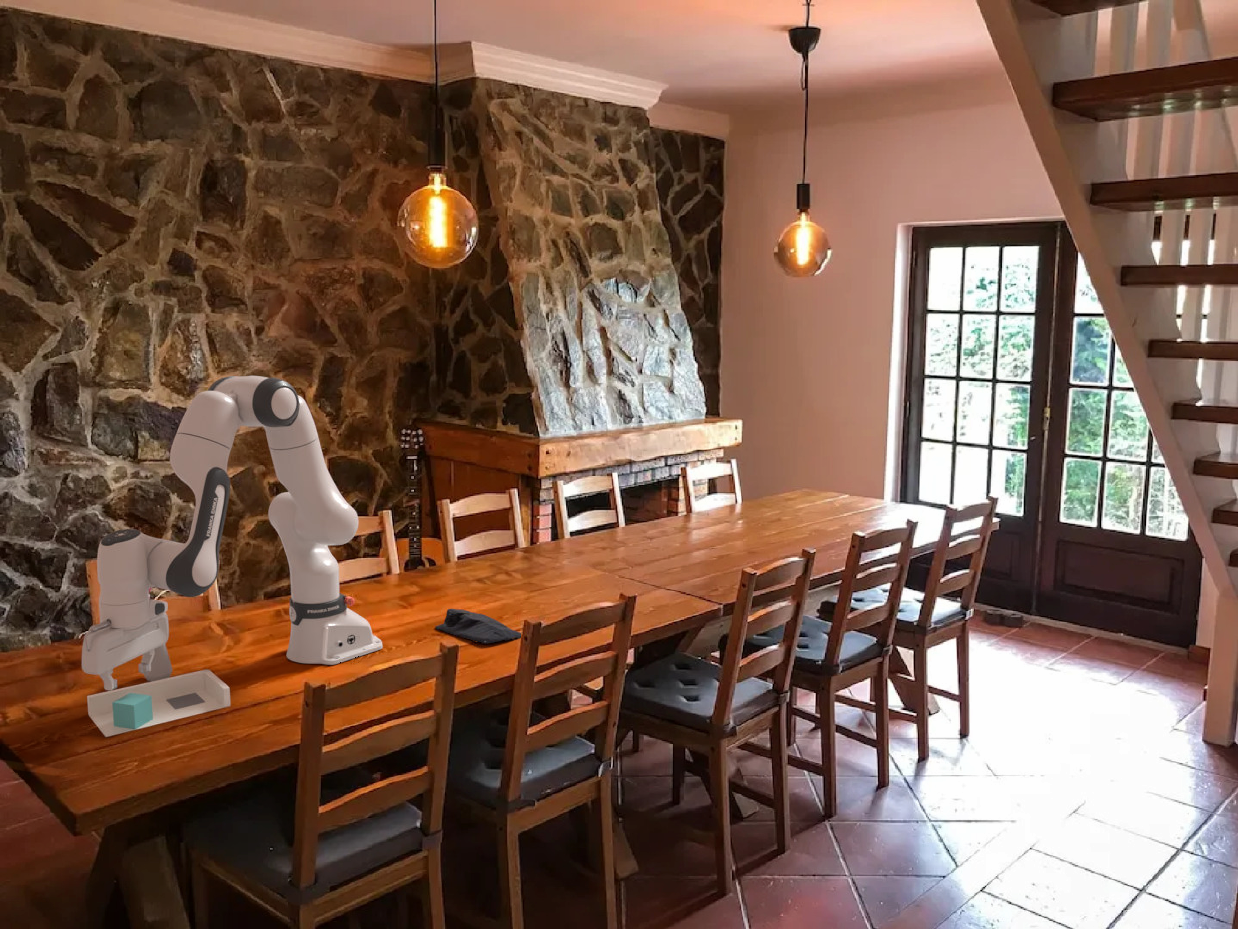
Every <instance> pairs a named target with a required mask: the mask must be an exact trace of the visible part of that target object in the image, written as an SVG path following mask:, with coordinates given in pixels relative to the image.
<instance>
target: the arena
mask: <svg viewBox="0 0 1238 929" xmlns="http://www.w3.org/2000/svg"><path fill="white" fill-rule="evenodd" d="M230 689H231V688H230V687H229V686H228V684H226V683H225V682H224V681H223V680H221V679H220V678H219V677H218V676H217V675H216V674H214V673H213V672H212V671H211V670H210V669H203V670H197V671H193V672H188V673H184V674H180V675H179V674H178V675H175V676H170V678H166V679H161V680H157V681H147V682H144V683H139V684H136V685H131V686H127V687H122V688H115V689H113V690H111V691H110V690H106V691H103V692H99V693H95V694H91V695H90V694H89V695H87V696H86V698H87V700H86V701H87V712H88V716H89V718H90V719H91V720H92V721H93V723H94V724H95V725H96V727H98V729H99V731H100V732H101V733H102V734H103V736H104V737H105V738H107V737H112V736H115V735H119V734H123V733H128V732H131V731H135V730H140V729H144V728H148V727H151V726H156V725H160V724H164V723H168V722H172V721H176V720H180V719H183V718H188V717H192V716H196V715H200V714H204V713H208V712H212V711H215V710H220V709H223V708H229V707H231V692H230V691H231V690H230ZM129 693H135V694H142V695H149V696H151V697H152V713H153V719H152V720H151V721H149V722H147V723H146V724H144V725H142V726H140V727H139V728H137V729H129V728H122V727H116V726H114V720H113V706H112V702H114V701H116V700H118V699H120V698H121V697H123V696H125V695H127V694H129Z"/></svg>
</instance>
